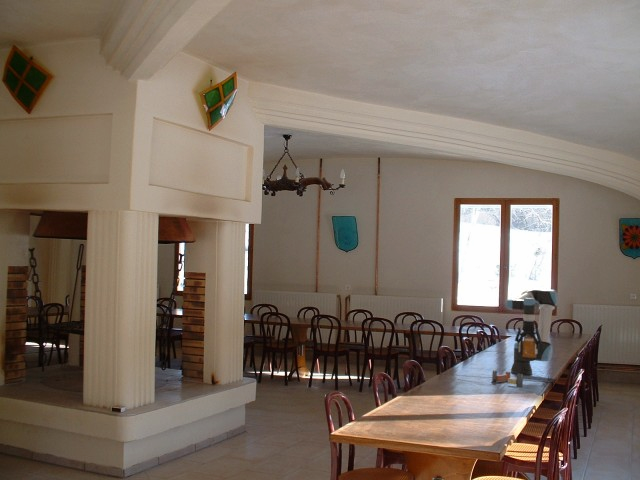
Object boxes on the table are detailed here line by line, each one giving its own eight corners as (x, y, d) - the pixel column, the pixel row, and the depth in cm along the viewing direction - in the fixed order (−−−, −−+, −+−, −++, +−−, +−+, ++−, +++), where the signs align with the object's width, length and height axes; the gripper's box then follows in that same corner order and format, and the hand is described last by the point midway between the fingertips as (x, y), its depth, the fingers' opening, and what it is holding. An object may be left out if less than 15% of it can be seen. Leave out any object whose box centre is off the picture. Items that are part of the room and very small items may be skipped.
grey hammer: (510, 384, 465) (510, 372, 465) (522, 386, 460) (522, 374, 460) (507, 385, 462) (508, 373, 462) (520, 387, 457) (520, 374, 457)
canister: (536, 361, 474) (537, 332, 474) (519, 360, 476) (520, 331, 477) (535, 359, 483) (536, 330, 483) (518, 358, 485) (519, 329, 486)
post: (492, 381, 473) (493, 370, 473) (498, 382, 471) (498, 370, 471) (490, 382, 470) (490, 370, 470) (495, 383, 468) (496, 371, 468)
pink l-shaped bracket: (495, 381, 473) (495, 372, 473) (507, 380, 481) (507, 371, 481) (498, 382, 471) (498, 373, 471) (510, 380, 479) (510, 371, 479)
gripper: (510, 319, 484) (509, 351, 484) (543, 322, 470) (542, 355, 470) (514, 318, 490) (513, 350, 490) (547, 321, 476) (546, 354, 476)
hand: (527, 352), depth 480 cm, fingers closed on canister, 11 cm apart
